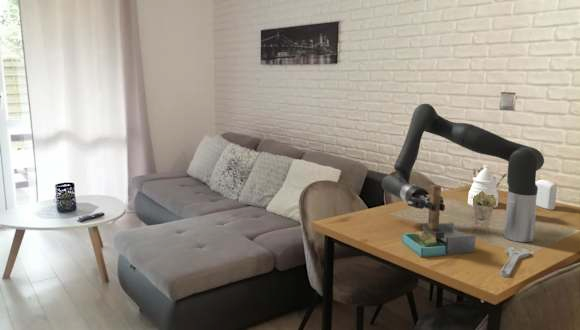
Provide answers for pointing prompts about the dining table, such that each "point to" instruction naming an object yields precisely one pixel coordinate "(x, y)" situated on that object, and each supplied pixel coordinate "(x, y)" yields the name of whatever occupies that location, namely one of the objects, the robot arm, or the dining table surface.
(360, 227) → the dining table surface
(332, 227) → the dining table surface
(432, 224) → the wooden post on base
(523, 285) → the dining table surface
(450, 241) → the rail channel
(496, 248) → the dining table surface
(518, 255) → the adjustable wrench
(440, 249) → the tray
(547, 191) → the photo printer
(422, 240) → the brass block
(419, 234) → the brass block
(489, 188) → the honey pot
